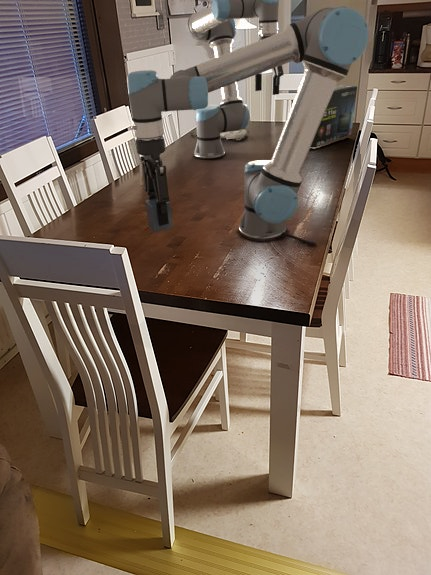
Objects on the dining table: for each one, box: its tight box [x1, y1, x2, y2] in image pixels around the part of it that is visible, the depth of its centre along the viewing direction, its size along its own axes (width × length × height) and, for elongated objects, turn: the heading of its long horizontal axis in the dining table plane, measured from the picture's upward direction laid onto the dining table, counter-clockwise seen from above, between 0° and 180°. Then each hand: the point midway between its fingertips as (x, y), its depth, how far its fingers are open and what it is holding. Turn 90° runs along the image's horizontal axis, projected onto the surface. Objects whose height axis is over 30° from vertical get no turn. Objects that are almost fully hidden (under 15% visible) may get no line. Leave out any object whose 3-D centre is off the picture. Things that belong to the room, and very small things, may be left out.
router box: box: [311, 84, 358, 151], centre depth 238 cm, size 36×11×27 cm, turn 134°
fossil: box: [220, 127, 250, 142], centre depth 261 cm, size 18×11×15 cm
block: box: [145, 198, 174, 233], centre depth 129 cm, size 5×5×8 cm
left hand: (266, 92), depth 193 cm, fingers open, 13 cm apart
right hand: (159, 220), depth 130 cm, fingers closed on block, 5 cm apart
